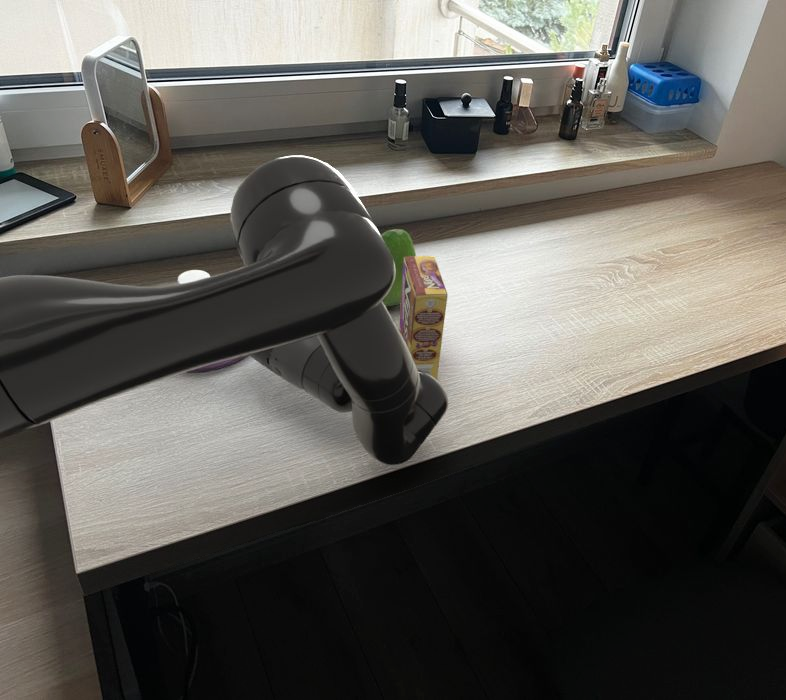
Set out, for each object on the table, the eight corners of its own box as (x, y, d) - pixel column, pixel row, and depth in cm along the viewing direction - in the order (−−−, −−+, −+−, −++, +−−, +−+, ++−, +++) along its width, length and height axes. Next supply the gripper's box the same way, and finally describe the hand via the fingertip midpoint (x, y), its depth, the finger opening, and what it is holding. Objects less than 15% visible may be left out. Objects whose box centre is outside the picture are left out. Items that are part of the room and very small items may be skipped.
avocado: (426, 300, 110) (432, 231, 103) (393, 322, 105) (396, 251, 97) (386, 280, 113) (389, 211, 106) (352, 300, 108) (352, 229, 101)
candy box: (438, 391, 94) (448, 294, 85) (406, 393, 93) (412, 295, 84) (427, 348, 101) (435, 254, 91) (396, 350, 100) (401, 255, 90)
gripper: (340, 298, 87) (251, 248, 94) (245, 351, 78) (154, 291, 85) (341, 347, 92) (256, 295, 99) (251, 402, 82) (164, 341, 89)
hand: (209, 293), depth 92 cm, fingers open, 8 cm apart
